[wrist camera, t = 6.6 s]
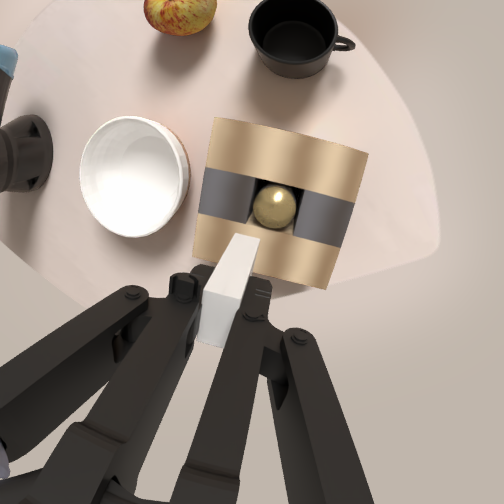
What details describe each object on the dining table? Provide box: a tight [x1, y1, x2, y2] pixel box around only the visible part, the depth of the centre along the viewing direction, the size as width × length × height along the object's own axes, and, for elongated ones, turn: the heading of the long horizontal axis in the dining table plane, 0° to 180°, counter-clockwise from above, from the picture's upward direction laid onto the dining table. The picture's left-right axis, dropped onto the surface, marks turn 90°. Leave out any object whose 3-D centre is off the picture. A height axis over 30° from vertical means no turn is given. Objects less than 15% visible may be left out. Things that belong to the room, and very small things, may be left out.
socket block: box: [192, 117, 368, 290], centre depth 36 cm, size 16×16×10 cm
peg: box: [253, 180, 296, 229], centre depth 35 cm, size 4×4×9 cm
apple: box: [144, 0, 217, 36], centre depth 27 cm, size 9×9×10 cm
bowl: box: [79, 116, 191, 238], centre depth 38 cm, size 16×16×8 cm
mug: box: [248, 0, 355, 79], centre depth 28 cm, size 9×12×9 cm
